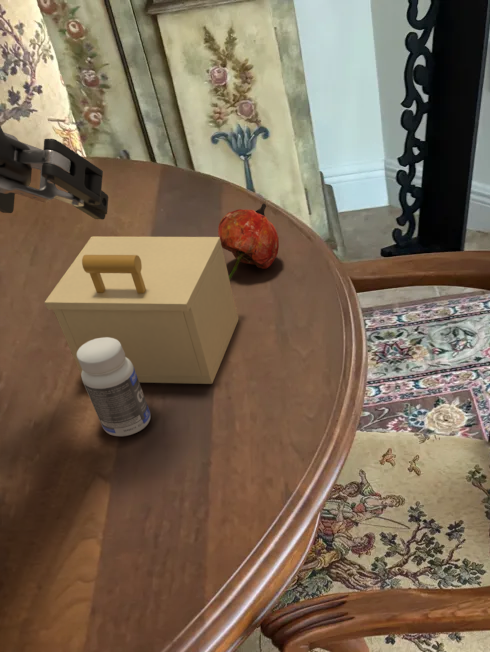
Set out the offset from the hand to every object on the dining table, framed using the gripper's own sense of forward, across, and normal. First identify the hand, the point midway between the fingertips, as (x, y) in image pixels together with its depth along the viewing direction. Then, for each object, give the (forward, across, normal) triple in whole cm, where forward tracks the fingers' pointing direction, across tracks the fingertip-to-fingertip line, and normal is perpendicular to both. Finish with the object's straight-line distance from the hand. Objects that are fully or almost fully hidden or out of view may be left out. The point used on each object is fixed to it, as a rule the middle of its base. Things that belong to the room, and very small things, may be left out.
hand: (55, 204), depth 66 cm
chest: (+18, -1, +9) cm, 20 cm away
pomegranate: (+31, -6, -4) cm, 32 cm away
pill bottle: (+10, -3, +17) cm, 20 cm away
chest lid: (+12, -1, +3) cm, 12 cm away
